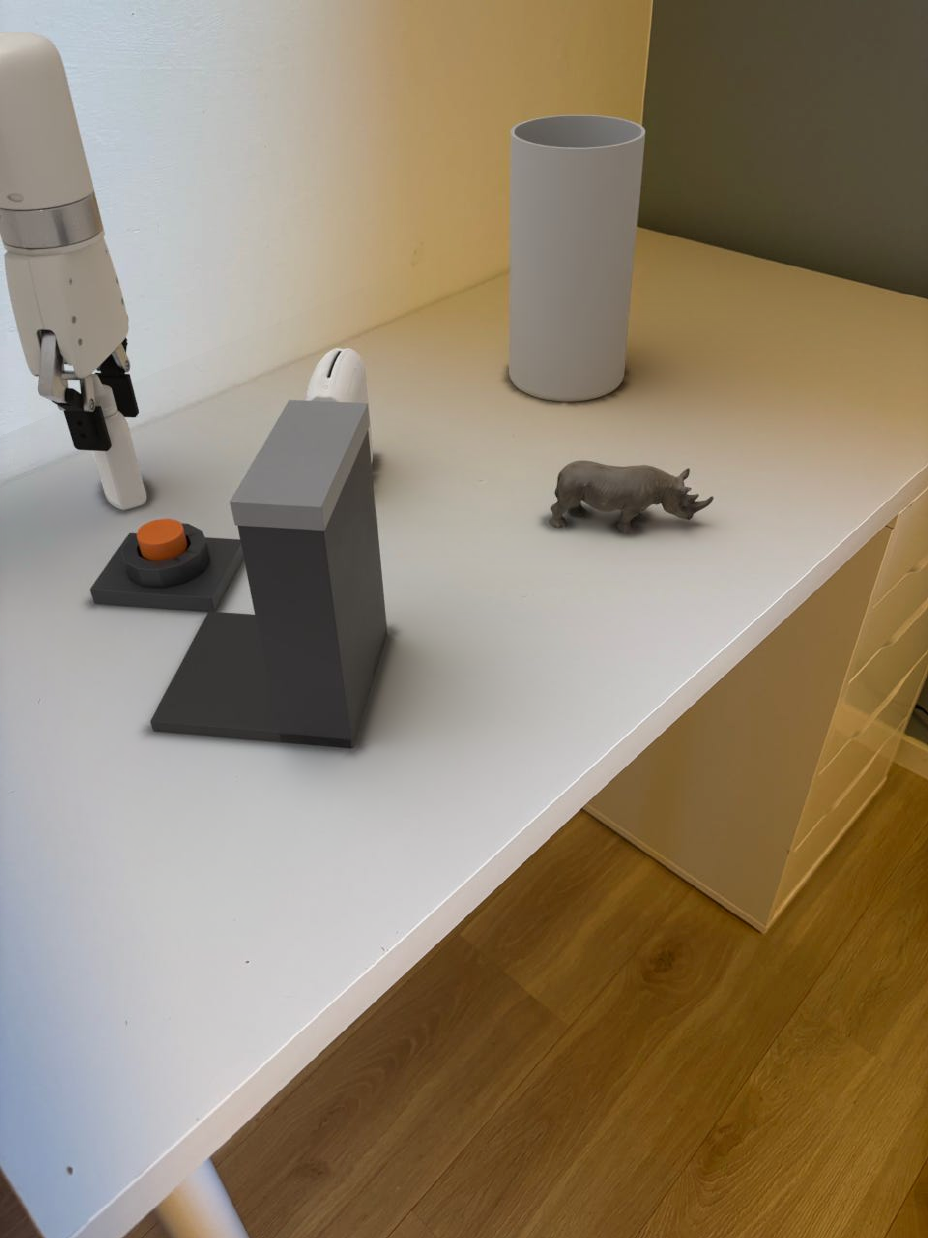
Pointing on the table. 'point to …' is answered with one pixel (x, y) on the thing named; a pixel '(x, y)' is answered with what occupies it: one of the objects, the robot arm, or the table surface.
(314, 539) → the coffee maker
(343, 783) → the table surface
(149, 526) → the button
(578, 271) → the cylinder vase
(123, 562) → the control pad
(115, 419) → the eye dropper bottle
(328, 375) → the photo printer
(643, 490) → the rhino figurine
